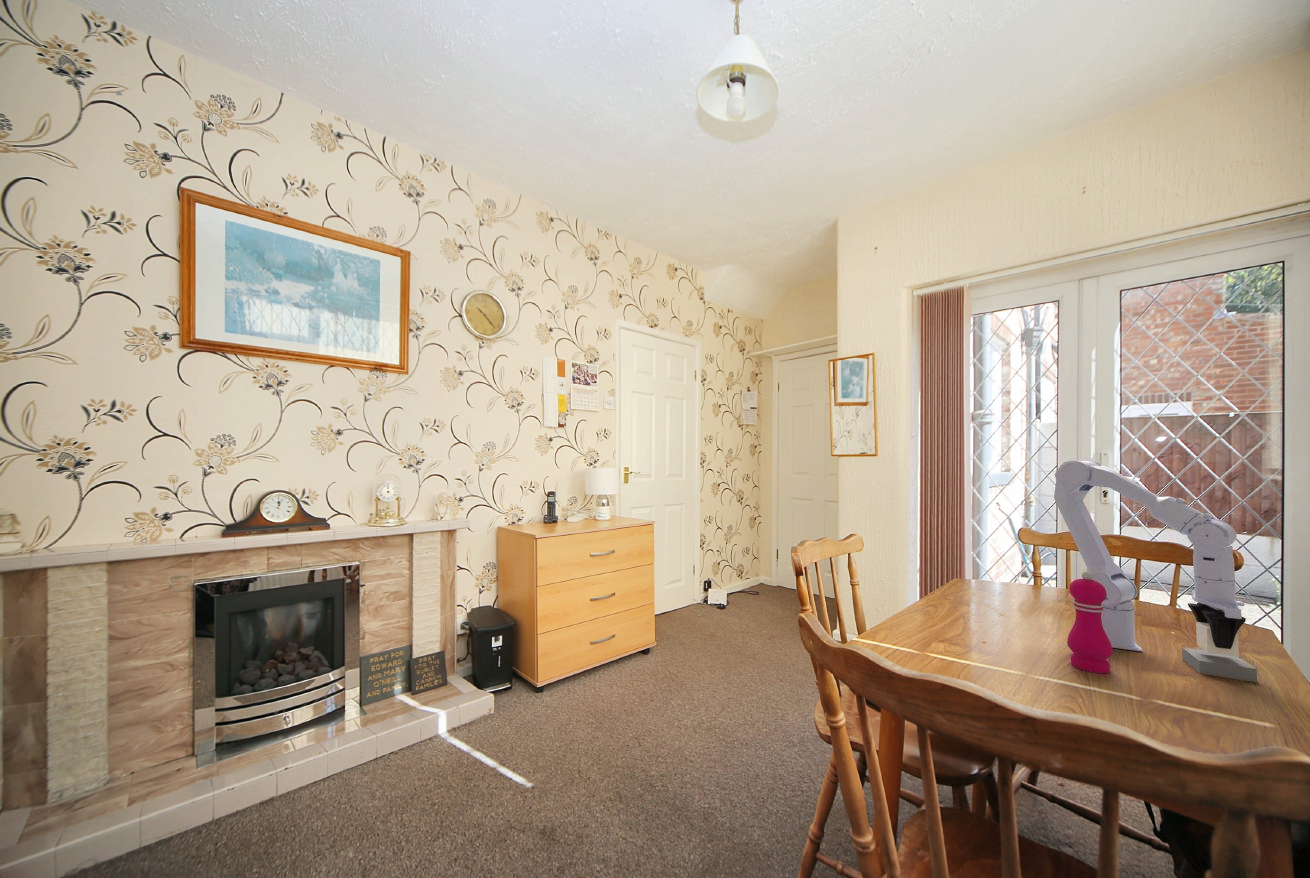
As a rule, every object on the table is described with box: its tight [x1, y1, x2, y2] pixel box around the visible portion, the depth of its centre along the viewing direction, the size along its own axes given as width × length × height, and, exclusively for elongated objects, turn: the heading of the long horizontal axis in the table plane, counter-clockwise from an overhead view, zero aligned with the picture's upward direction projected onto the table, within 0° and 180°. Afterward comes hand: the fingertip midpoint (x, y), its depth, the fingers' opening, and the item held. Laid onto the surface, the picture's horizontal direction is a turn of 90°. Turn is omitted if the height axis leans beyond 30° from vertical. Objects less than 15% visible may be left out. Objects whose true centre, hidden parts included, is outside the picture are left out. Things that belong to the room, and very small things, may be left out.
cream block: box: [1195, 621, 1240, 658], centre depth 103 cm, size 4×4×5 cm
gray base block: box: [1181, 647, 1258, 683], centre depth 103 cm, size 8×8×3 cm
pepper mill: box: [1066, 571, 1114, 674], centre depth 104 cm, size 7×7×20 cm
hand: (1216, 643), depth 103 cm, fingers closed on cream block, 4 cm apart
